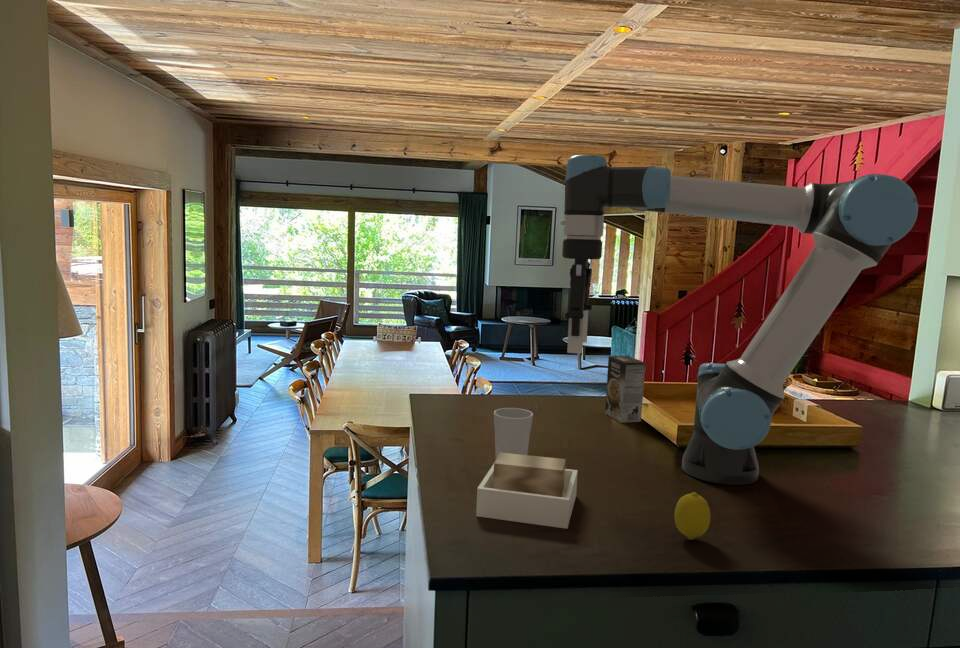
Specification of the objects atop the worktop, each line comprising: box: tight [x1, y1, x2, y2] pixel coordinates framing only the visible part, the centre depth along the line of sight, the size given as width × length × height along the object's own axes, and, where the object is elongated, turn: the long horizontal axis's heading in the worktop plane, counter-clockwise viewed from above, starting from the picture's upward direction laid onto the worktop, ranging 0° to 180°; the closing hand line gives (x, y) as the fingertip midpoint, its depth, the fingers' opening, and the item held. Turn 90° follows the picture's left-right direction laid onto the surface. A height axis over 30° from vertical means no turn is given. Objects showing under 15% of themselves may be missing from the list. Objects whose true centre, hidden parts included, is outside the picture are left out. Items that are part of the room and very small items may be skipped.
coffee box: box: [604, 355, 647, 423], centre depth 180 cm, size 9×6×16 cm
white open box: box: [475, 463, 579, 530], centre depth 121 cm, size 16×15×5 cm
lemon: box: [674, 491, 711, 541], centre depth 109 cm, size 6×6×8 cm
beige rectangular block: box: [493, 453, 567, 497], centre depth 120 cm, size 12×6×5 cm, turn 79°
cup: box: [493, 407, 534, 460], centre depth 138 cm, size 8×8×12 cm
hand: (577, 347), depth 133 cm, fingers open, 13 cm apart
